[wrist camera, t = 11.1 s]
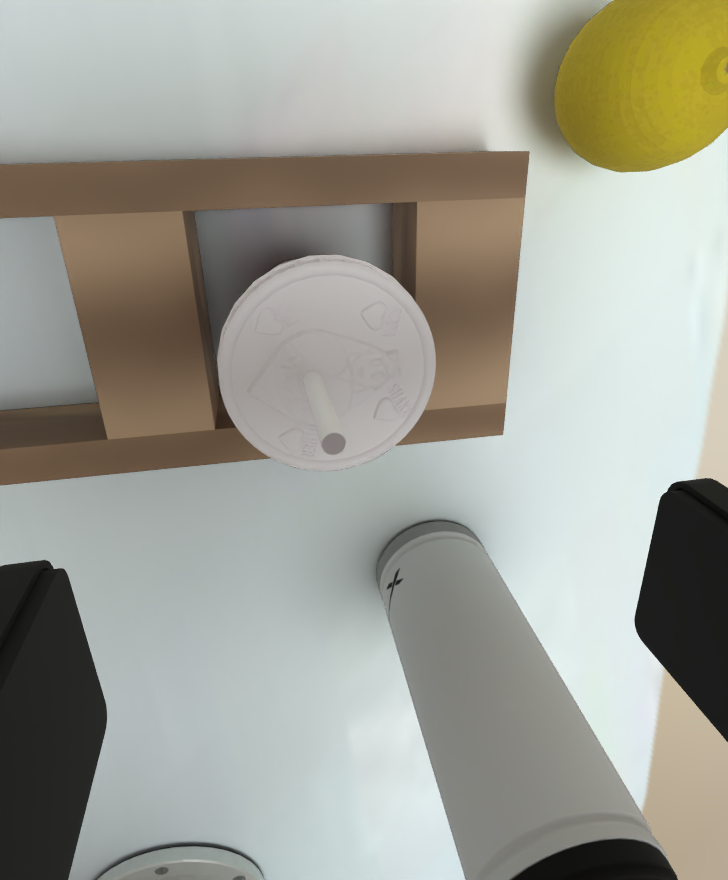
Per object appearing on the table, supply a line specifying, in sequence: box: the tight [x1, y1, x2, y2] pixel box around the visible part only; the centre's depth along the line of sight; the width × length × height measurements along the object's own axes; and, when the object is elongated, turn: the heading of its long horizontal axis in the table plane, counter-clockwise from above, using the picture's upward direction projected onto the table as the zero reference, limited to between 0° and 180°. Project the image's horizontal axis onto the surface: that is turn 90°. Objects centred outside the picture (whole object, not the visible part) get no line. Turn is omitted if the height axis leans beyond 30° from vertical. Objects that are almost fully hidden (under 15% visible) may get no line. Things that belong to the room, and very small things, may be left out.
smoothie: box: [217, 255, 436, 471], centre depth 19 cm, size 6×6×14 cm
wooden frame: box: [0, 151, 529, 485], centre depth 23 cm, size 11×28×4 cm, turn 91°
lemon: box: [554, 0, 728, 172], centre depth 20 cm, size 6×6×8 cm
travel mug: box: [377, 521, 678, 880], centre depth 24 cm, size 6×7×20 cm
